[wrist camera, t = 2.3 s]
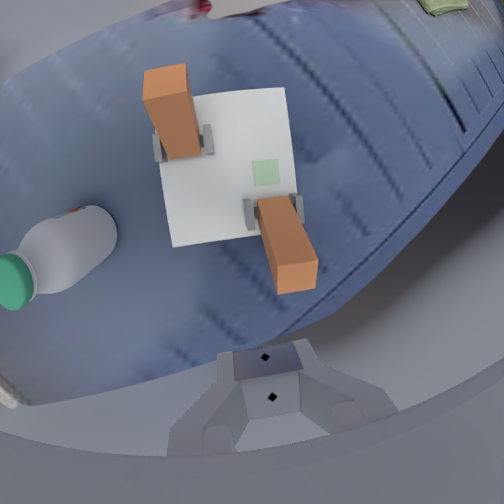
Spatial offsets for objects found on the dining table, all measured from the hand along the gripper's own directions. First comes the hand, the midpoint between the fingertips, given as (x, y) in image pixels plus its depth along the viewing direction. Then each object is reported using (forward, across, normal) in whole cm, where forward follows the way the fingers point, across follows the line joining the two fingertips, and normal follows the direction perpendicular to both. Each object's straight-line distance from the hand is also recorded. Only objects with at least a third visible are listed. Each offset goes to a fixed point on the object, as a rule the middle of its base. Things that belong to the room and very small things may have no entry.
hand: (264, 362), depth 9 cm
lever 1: (+26, +4, -10) cm, 28 cm away
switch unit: (+29, 0, -7) cm, 30 cm away
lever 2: (+26, -5, -1) cm, 26 cm away
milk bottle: (+29, +19, -1) cm, 35 cm away
